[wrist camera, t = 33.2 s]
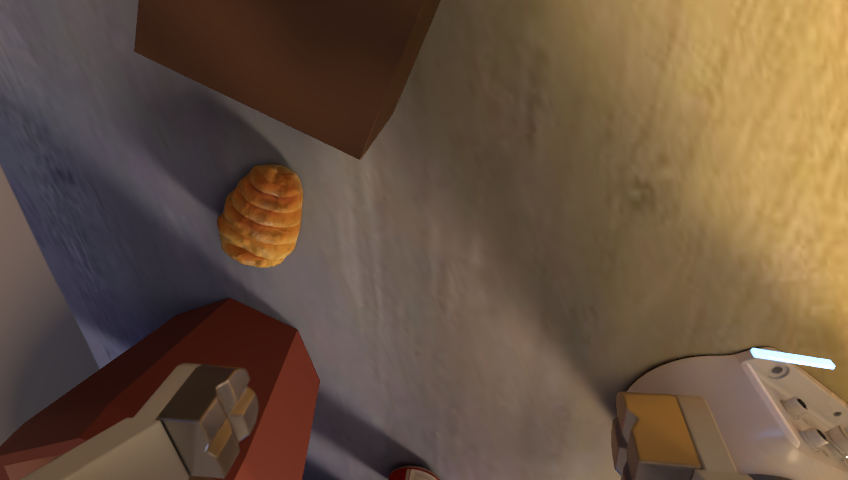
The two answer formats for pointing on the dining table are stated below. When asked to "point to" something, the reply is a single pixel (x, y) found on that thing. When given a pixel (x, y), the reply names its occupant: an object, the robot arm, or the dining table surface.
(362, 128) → the cabinet
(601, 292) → the dining table surface
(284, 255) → the pastry
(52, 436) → the bucket
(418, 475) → the soda can
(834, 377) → the dining table surface
